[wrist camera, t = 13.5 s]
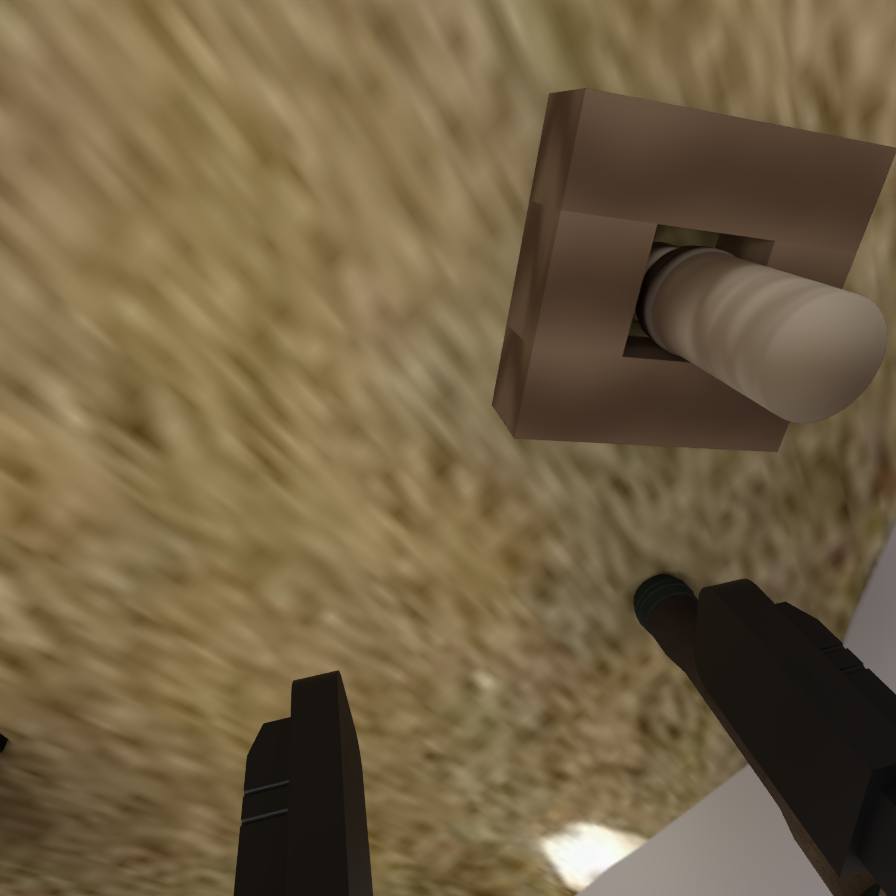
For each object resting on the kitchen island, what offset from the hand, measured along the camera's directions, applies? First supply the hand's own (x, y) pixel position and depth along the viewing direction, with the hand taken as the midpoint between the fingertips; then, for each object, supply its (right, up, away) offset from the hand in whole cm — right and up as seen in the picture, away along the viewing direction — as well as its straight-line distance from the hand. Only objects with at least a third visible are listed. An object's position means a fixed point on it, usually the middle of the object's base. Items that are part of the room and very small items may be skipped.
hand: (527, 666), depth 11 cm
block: (+9, +12, +21) cm, 25 cm away
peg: (+9, +12, +21) cm, 25 cm away
